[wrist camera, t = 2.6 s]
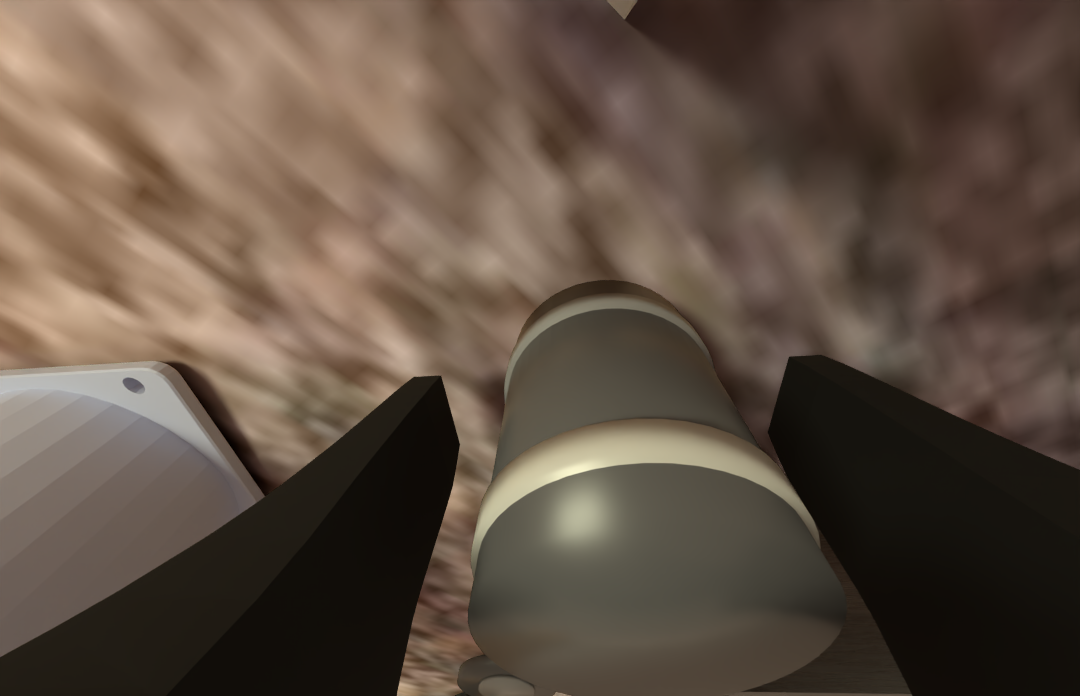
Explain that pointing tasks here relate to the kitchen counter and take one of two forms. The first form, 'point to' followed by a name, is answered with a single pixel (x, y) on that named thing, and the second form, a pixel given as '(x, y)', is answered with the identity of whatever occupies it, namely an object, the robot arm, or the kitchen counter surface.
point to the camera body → (844, 655)
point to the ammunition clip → (462, 694)
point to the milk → (622, 6)
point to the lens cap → (494, 680)
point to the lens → (639, 516)
